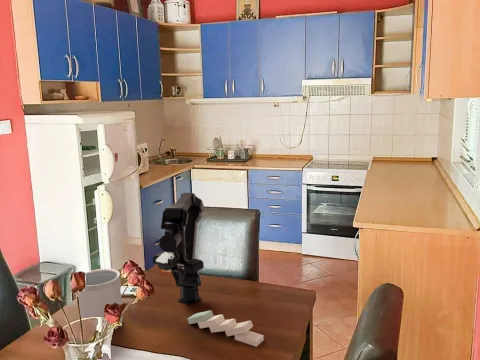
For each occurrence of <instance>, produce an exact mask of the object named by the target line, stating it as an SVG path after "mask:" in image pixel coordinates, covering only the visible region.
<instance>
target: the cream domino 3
mask: <svg viewBox="0 0 480 360" xmlns="http://www.w3.org/2000/svg"><path fill="white" fill-rule="evenodd" d="M236 323H237V322H236ZM253 327H254V324H253V322H252V320H246V321H242V322H238V323H237V325H236V326H234V327H233V328H231V329H230V330H227V331H224V332H225V335H226V337H231V336H235V335H236V334H241V333H246V332H247V331H251V330H250V329H252V328H253Z"/></svg>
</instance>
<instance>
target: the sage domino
mask: <svg viewBox="0 0 480 360" xmlns="http://www.w3.org/2000/svg"><path fill="white" fill-rule="evenodd" d="M213 316H215V315H214V313H213V310H212V309H211V310H206V311H201V312H196V313H194V314H192V315H191V316H190V317H187V321H188V324H189V325H192V324H193V325H194V324H196V323H197V324H198V323H199V322H204V321H206V320H208V319H210V318H211V317H213Z"/></svg>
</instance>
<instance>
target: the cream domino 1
mask: <svg viewBox="0 0 480 360" xmlns="http://www.w3.org/2000/svg"><path fill="white" fill-rule="evenodd" d="M224 320H226V319H225V317H224V314H223V313H222V314H218V315H214V316H213V317H211V318H210V319H208V320H206V321H204V322H199V323H197V324H198V327H199V329H204V328H209V327H212V326H217V325H218V324H220V323H221V322H223V321H224Z"/></svg>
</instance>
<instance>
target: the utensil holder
mask: <svg viewBox="0 0 480 360" xmlns="http://www.w3.org/2000/svg"><path fill="white" fill-rule="evenodd" d="M84 273H85V275H86V288H85V290H84V291H82V292H80V294H79V307H80V314H81V318H89V317H104V308H105V305H106V304H113V303H114V302H115V303H117V304H122V293H121V280H120V279H121V272H119V270H117V269H113V268H98V269H93V270H89V271H85V272H84ZM119 289H120V290H119ZM77 311H78V310H77ZM78 313H79V311H78ZM120 321H121V323H123V315H122V316H121V319H120ZM118 328H119V327H116V328H115V330H116V329H118Z"/></svg>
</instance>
